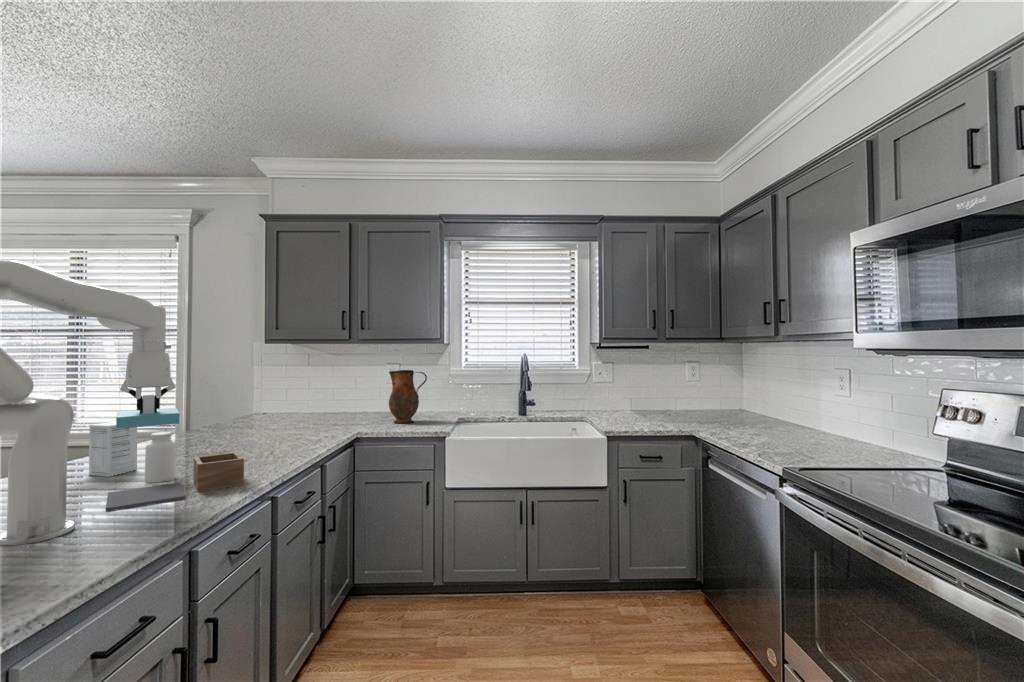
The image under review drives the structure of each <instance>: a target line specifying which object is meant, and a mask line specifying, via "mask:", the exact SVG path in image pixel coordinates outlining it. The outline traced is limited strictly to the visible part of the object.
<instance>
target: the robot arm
mask: <svg viewBox="0 0 1024 682" xmlns="http://www.w3.org/2000/svg"><path fill="white" fill-rule="evenodd" d="M0 300H10V301H15V302H19V303H23V304H25V305H28V306H29V305H30V306H33V307H36V308H40V309H44V310H47V311H49V312H50V311H51V312H53V313H57V314H61V315H65V316H72V317H80V318H96V319H97V322H98V323H99V324H101V325H102V326H103V327H104V328H107V329H111V330H132V343H131V344H132V345H131V346H132V347H131V348H132V349H131V352H129V353H128V355H127V360H126V369H125V370H126V371H125V379H124V381H123V383H122V385H121V386H120V388H119V391H120V392H123V393H126V394H127V393H128V394H130V395H131V396H132V397H134V398H135V399H136V410H140V413H143V395H142V390H143V389H144V388H145V389H147V388H154V389H155V392H154V412H157V409H161V408H160V407H161V404H160V403H161V397H163V395H165V394H166V393H168V392H169V391H172V390H174V389H176V388H177V387H176V385H175V383H174V381H173V379H172V378H171V377H172V376H171V374H172V373H171V362H170V361H171V360H170V354H169V352H166V350H169V349H170V350H171V349H172V343H167V342H166V329H167V328H166V326H167V325H166V323H167V322H166V321H167V320H166V319H167V317H166V316H167V314H166V313H167V310H166V308H165V307H164V306H162V305H158V304H153V303H151V302H150V301H147V300H145V299H143V298H140V297H138V296H135V295H133V294H130V293H126V292H122V291H117V290H115V289H109V288H105V287H101V286H98V285H93V284H90V283H84V282H81V281H78V280H74V279H72V278H68V277H67V276H66V277H65V276H63V275H61V274H58V273H55V272H53V271H50V270H47V269H44V268H41V267H39V266H36V265H34V264H33V265H32V264H30V263H27V262H24V261H19V260H10V259H9V260H0ZM34 386H35V385H34V381H33V378H32V376H31V375H30V373H28V372H27V371H26V370H25V369H24V368H23V367H22V366H21V365H20V364H19V363H18V362H17V361H16V360H15V359H13V357H12V356H10V354H9V353H7V352H6V351H5V350H4V349H3V348H1V346H0V437H11V438H12V437H13V438H14V437H16V440H15V441H14V442H15V443H14V444H13V446H12V448H11V450H10V451H9V456H8V460H7V461H8V462H7V500H6V501H7V502H6V503H7V505H6V507H7V511H6V512H7V514H6V530H5V531H2V532H1V533H0V545H1V546H21V545H26V544H28V545H29V544H33V543H38V542H43V541H47V540H51V539H54V538H58V537H60V536H63V535H66V534H68V533H69V532H71V531H73V530H74V529H75V528H76V527H75V526H76V523H75V521H73V520H71V519H67V487H68V486H67V482H68V480H67V479H68V449H69V448H68V446H69V438H70V433H71V430H72V426H73V423H74V419H75V418H74V417H75V413H74V409H73V406H72V405H71V404H70V402H68V401H67V400H65V399H63V398H61V397H58V396H56V395H49V394H32V392H34V391H33V390H34Z"/></svg>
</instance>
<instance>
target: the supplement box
mask: <svg viewBox="0 0 1024 682" xmlns="http://www.w3.org/2000/svg"><path fill="white" fill-rule="evenodd" d="M88 428H89V431H88V433H89V435H88V436H89V437H88V438H89V441H88V443H89V447H88V476H95V477H96V476H97V477H104V478H105V477H106V478H110V477H114V475H115V476H118V474H119V475H122V474H121V473H123V474H126V472H127V473H130V472H129V471H131V472H134V471H133V470H136V471H138V427H132V428H120V429H116V420H115V421H109V422H102V423H101V422H100V423H94V424H89V427H88Z"/></svg>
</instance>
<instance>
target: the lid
mask: <svg viewBox="0 0 1024 682" xmlns="http://www.w3.org/2000/svg"><path fill="white" fill-rule="evenodd" d="M154 396H155V393H142V399H143V413H140V410H137V409H136V410H124V411H117V413H116V416H115V421H116V429H120V428H132V427H137V428H143V427H155V426H167V425H178V424H180V411H179V410H178V409H177V407H170V408H168V407H167V408H160V409H157V412H154Z"/></svg>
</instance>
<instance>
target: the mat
mask: <svg viewBox="0 0 1024 682" xmlns="http://www.w3.org/2000/svg"><path fill="white" fill-rule="evenodd" d="M184 499H186V494H185V492H184V490H183V487H182V484H181V482H172V483H165V484H159V485H152V486H151V485H150V486H144V487H137V488H130V489H123V490H117V491H108V492H107V499H106V504H105V512H110V511H116V509H118V510H122V508H124V509H129V507H130V508H135V506H136V507H142V506H141V505H143V506H148V504H149V505H155V504H160V503H165V502H172V501H177V500H179V501H180V500H184ZM154 503H155V504H154Z"/></svg>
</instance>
